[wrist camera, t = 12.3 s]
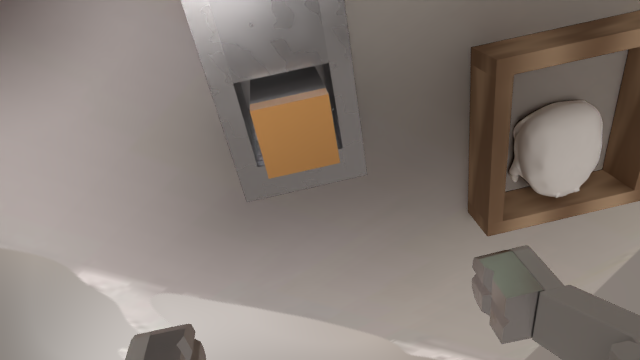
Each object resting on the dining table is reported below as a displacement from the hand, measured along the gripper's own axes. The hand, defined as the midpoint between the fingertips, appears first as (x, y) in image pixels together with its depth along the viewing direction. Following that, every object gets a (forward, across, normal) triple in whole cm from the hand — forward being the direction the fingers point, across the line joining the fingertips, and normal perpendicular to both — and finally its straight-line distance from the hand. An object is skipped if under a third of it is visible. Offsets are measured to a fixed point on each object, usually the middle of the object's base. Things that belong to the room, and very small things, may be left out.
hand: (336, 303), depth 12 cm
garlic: (+20, -20, +9) cm, 30 cm away
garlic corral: (+20, -20, +7) cm, 29 cm away
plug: (+18, 0, 0) cm, 18 cm away
